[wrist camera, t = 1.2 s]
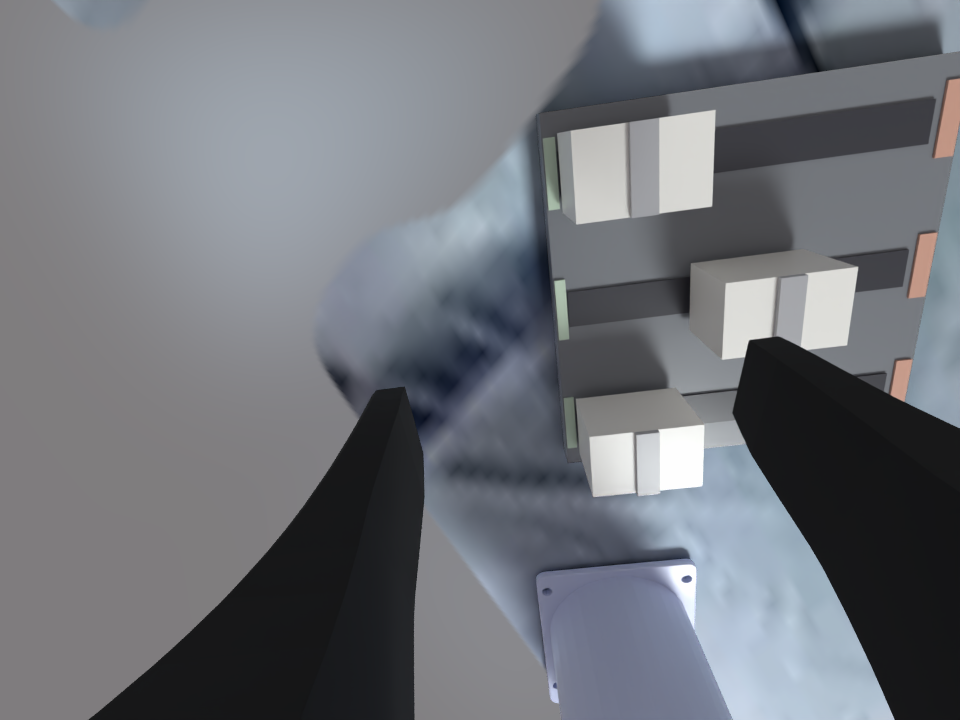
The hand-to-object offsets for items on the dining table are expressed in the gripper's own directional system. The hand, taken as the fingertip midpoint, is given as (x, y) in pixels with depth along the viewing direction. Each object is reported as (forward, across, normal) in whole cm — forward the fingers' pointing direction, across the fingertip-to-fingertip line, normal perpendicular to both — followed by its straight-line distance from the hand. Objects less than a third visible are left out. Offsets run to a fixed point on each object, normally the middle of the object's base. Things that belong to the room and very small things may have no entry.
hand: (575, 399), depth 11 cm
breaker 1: (+10, -3, -2) cm, 10 cm away
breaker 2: (+7, -3, +8) cm, 11 cm away
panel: (+10, -8, +4) cm, 13 cm away
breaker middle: (+8, -8, +3) cm, 12 cm away
